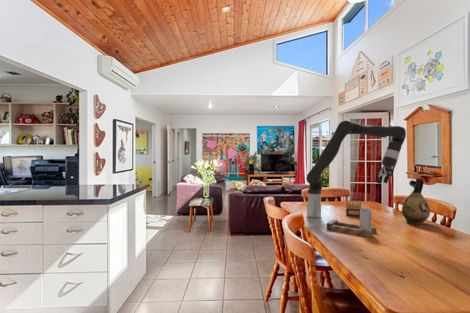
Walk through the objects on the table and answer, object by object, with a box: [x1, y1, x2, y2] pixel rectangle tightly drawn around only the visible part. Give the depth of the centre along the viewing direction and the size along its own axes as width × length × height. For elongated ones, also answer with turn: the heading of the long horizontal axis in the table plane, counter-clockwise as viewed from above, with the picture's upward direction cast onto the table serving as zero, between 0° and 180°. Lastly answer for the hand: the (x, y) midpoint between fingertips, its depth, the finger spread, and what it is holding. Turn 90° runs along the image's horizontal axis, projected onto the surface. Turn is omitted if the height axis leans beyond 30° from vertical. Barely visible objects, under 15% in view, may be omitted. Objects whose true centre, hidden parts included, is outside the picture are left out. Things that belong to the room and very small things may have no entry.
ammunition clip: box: [345, 199, 363, 218], centre depth 196 cm, size 11×2×12 cm, turn 65°
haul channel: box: [326, 218, 378, 238], centre depth 157 cm, size 25×12×4 cm, turn 50°
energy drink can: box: [359, 206, 372, 231], centre depth 152 cm, size 6×6×15 cm
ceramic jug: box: [401, 177, 431, 225], centre depth 175 cm, size 17×15×30 cm
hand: (381, 183), depth 158 cm, fingers open, 8 cm apart
